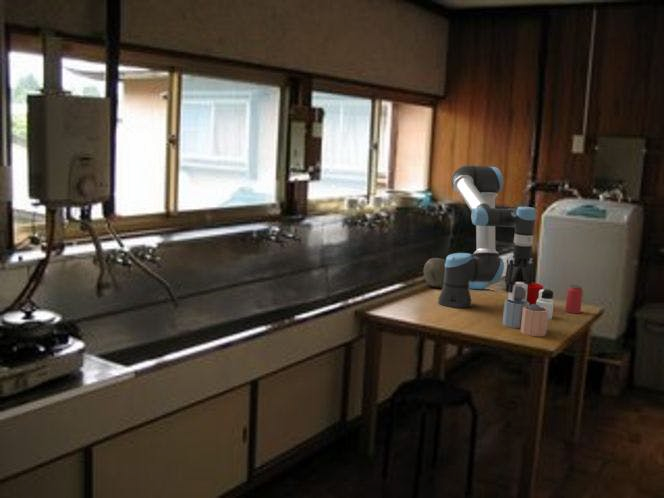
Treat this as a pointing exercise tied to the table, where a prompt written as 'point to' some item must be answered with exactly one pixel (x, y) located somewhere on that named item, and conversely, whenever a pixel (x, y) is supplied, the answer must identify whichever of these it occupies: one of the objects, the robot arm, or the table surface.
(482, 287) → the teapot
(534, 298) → the ceramic cup
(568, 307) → the beer can
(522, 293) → the charcoal ball
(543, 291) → the medicine bottle
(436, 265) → the grey stone sphere
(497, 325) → the table surface
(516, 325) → the slate tube
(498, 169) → the robot arm
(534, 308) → the charcoal ball
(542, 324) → the terracotta tube
